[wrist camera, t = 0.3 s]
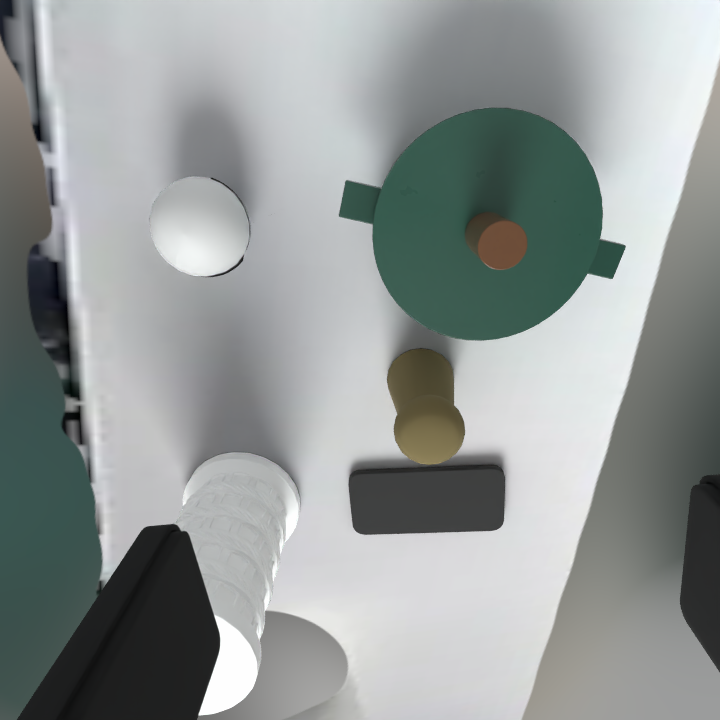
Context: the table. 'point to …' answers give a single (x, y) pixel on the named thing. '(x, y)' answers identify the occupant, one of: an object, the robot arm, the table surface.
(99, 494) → the table surface
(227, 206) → the white rounded upright piece
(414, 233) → the lid
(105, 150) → the table surface
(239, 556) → the decorative container
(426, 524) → the phone
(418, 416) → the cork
